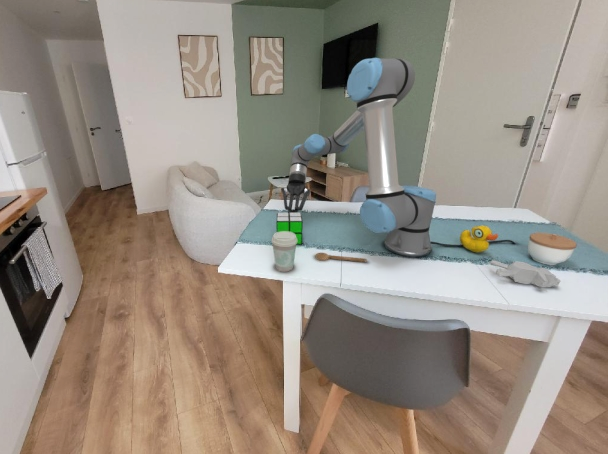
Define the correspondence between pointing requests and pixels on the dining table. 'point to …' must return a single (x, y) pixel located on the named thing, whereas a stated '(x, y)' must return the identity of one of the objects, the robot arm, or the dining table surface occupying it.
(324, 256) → the wooden spoon
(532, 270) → the bunny figurine
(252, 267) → the dining table surface
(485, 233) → the duckling
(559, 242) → the trinket box
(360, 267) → the dining table surface
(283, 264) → the coffee cup
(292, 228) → the puzzle cube
